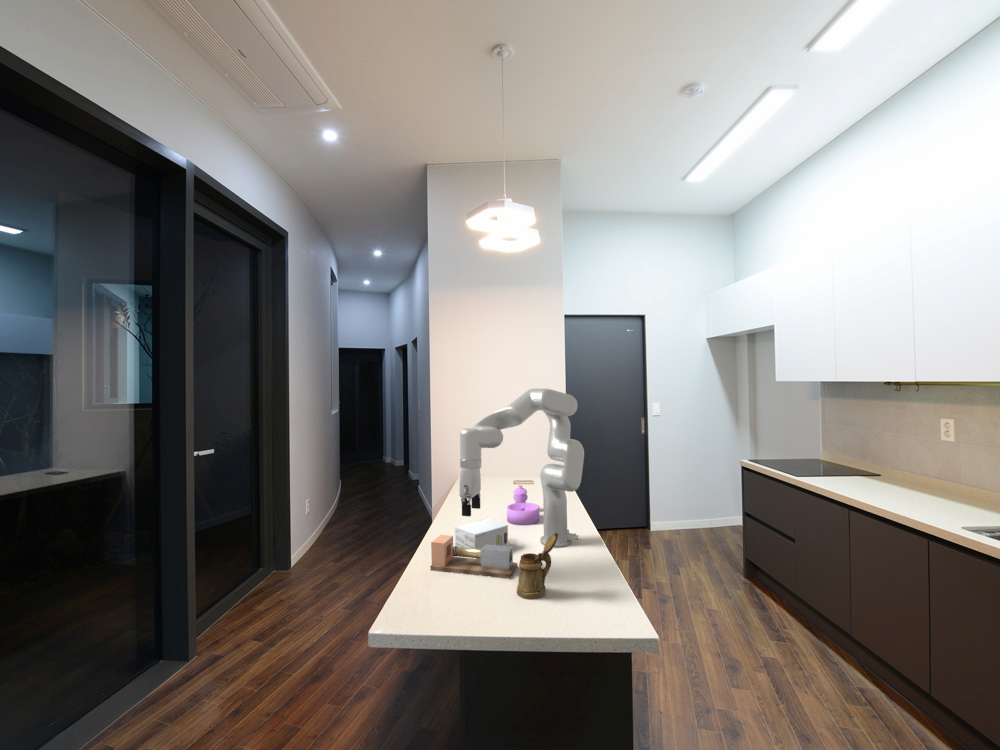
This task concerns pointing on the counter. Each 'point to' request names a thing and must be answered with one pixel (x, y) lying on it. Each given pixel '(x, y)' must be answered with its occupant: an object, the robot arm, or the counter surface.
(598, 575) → the counter surface
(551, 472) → the robot arm
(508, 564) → the sleeve
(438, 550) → the socket block
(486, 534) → the supplement box
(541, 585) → the wooden mug
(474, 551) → the tube
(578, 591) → the counter surface
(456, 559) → the base board
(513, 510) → the container set
